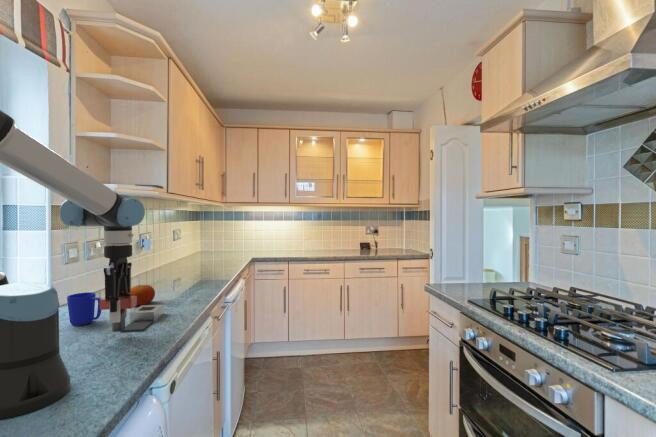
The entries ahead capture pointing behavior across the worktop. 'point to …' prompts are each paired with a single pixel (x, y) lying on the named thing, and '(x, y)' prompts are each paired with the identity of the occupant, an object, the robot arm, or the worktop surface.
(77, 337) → the worktop surface
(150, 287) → the fruit
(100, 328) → the worktop surface
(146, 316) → the block
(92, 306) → the mug
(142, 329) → the mat
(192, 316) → the worktop surface
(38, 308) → the robot arm
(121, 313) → the key
